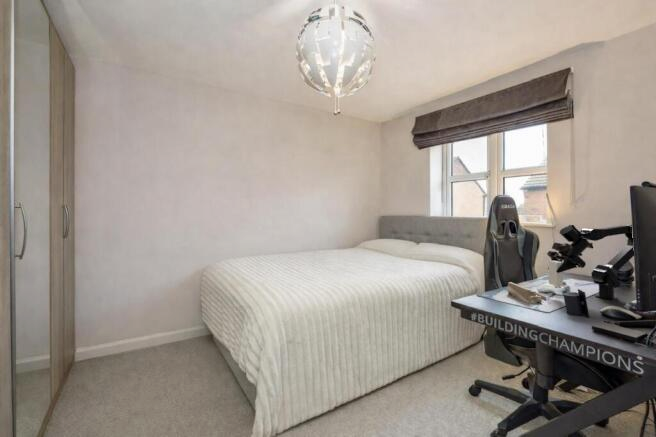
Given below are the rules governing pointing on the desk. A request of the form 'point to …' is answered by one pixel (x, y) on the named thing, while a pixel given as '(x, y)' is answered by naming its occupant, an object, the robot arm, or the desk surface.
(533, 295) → the offcut stack
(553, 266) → the cream rectangular block
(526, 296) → the rack
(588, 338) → the desk surface
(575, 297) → the speaker
